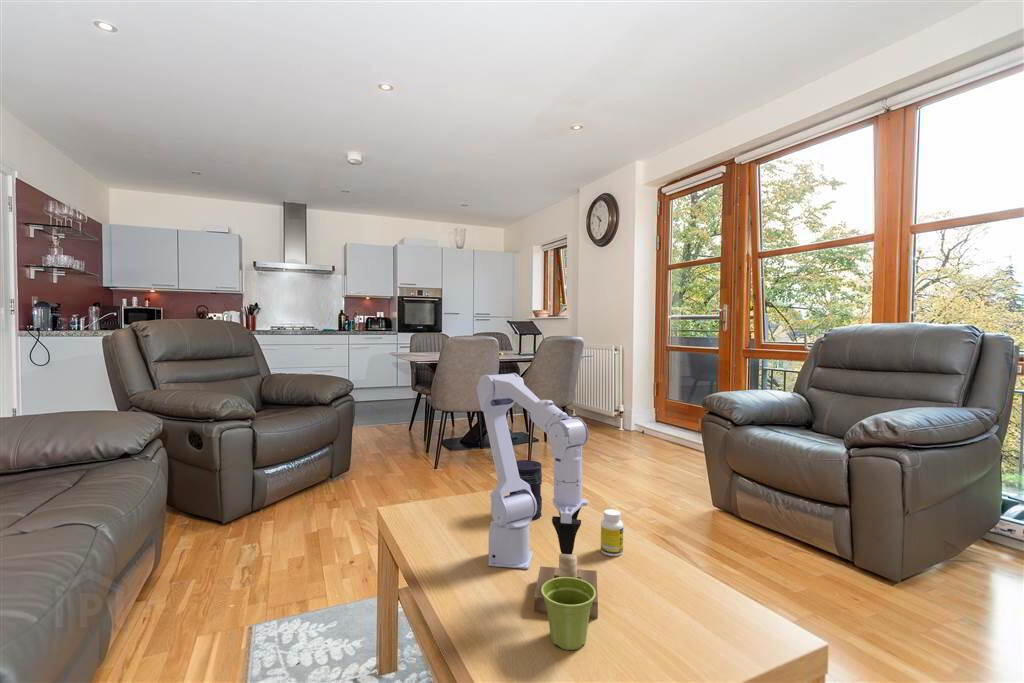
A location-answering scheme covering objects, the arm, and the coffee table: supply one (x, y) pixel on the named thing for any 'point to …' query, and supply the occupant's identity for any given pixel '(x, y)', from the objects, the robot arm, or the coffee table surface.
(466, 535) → the coffee table surface
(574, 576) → the pin
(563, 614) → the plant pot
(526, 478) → the storage jar
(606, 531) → the supplement bottle
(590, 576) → the socket block
